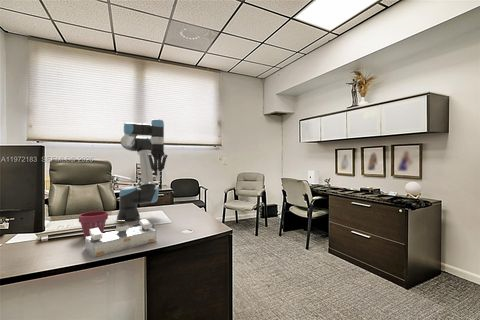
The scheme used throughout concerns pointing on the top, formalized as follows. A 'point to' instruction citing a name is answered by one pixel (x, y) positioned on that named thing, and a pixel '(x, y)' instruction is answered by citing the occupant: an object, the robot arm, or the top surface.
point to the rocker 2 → (122, 228)
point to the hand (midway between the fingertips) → (157, 180)
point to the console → (119, 240)
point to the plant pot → (93, 221)
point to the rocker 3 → (145, 224)
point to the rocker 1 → (95, 234)
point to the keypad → (139, 225)
